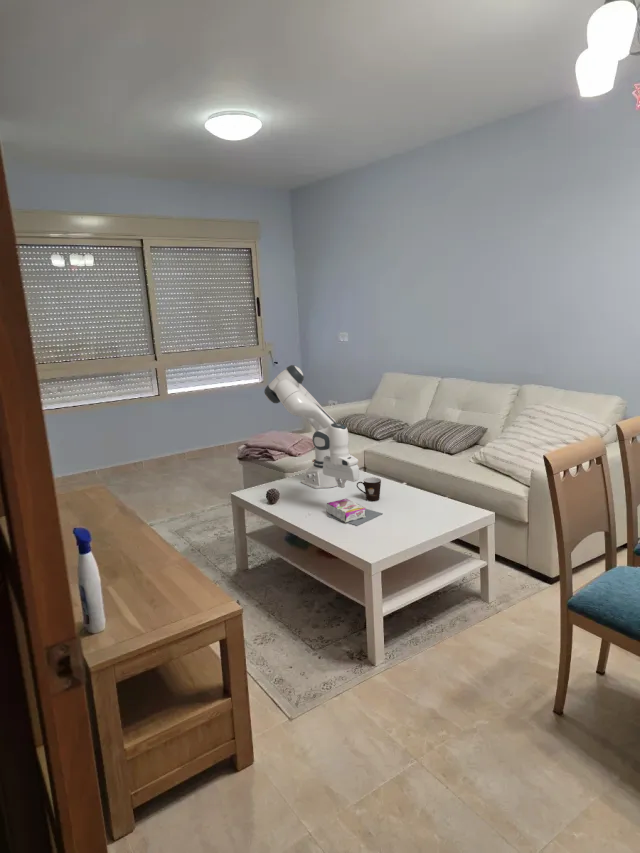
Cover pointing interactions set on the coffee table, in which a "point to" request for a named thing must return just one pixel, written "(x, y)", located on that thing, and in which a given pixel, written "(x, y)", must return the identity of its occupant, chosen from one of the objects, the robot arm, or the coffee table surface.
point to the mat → (369, 516)
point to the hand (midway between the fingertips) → (341, 487)
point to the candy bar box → (346, 510)
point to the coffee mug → (371, 488)
